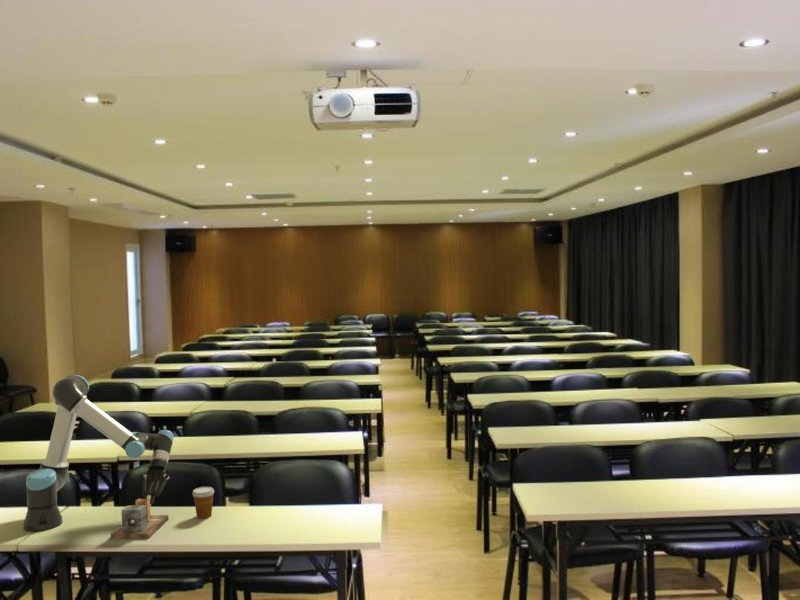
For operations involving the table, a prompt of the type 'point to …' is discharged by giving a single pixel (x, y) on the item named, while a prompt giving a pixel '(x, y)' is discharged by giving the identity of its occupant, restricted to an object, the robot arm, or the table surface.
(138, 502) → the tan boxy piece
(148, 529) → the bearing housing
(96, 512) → the table surface
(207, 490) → the disposable coffee cup
